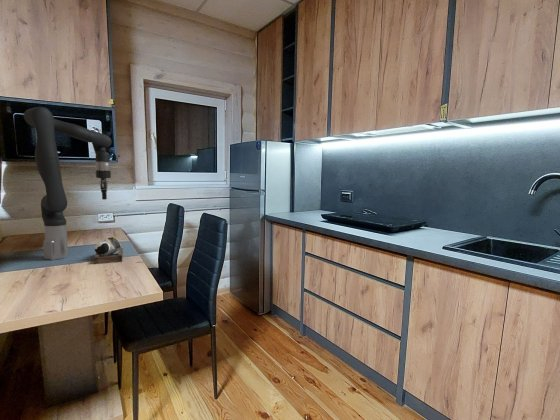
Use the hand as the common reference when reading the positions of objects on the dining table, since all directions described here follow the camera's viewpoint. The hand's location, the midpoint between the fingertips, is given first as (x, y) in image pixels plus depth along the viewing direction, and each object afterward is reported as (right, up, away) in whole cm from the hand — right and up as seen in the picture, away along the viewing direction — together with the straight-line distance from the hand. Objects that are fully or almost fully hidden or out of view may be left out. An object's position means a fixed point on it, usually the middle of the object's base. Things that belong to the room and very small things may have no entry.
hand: (104, 199), depth 175 cm
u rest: (+14, -32, -18) cm, 39 cm away
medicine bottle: (+12, -26, -12) cm, 31 cm away
